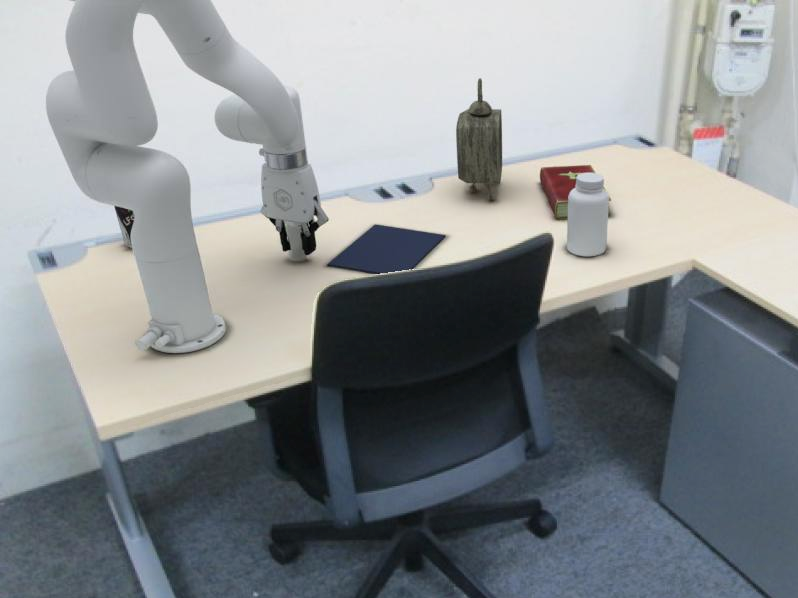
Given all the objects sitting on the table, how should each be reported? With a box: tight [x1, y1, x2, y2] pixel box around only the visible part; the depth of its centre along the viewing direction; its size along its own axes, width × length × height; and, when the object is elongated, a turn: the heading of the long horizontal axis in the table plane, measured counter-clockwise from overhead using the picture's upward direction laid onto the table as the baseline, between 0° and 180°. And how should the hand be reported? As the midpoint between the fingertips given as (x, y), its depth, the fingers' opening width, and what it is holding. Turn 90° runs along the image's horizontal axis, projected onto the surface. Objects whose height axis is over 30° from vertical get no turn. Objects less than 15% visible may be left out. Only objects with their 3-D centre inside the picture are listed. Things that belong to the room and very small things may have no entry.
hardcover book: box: [539, 164, 612, 221], centre depth 201 cm, size 12×21×4 cm, turn 9°
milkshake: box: [283, 220, 308, 263], centre depth 172 cm, size 4×5×10 cm
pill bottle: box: [566, 172, 610, 257], centre depth 176 cm, size 8×8×15 cm
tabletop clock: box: [455, 77, 503, 202], centre depth 198 cm, size 14×9×25 cm, turn 179°
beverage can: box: [113, 206, 135, 249], centre depth 177 cm, size 6×6×12 cm
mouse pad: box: [326, 224, 446, 275], centre depth 179 cm, size 20×16×1 cm
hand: (299, 249), depth 174 cm, fingers closed on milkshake, 4 cm apart
